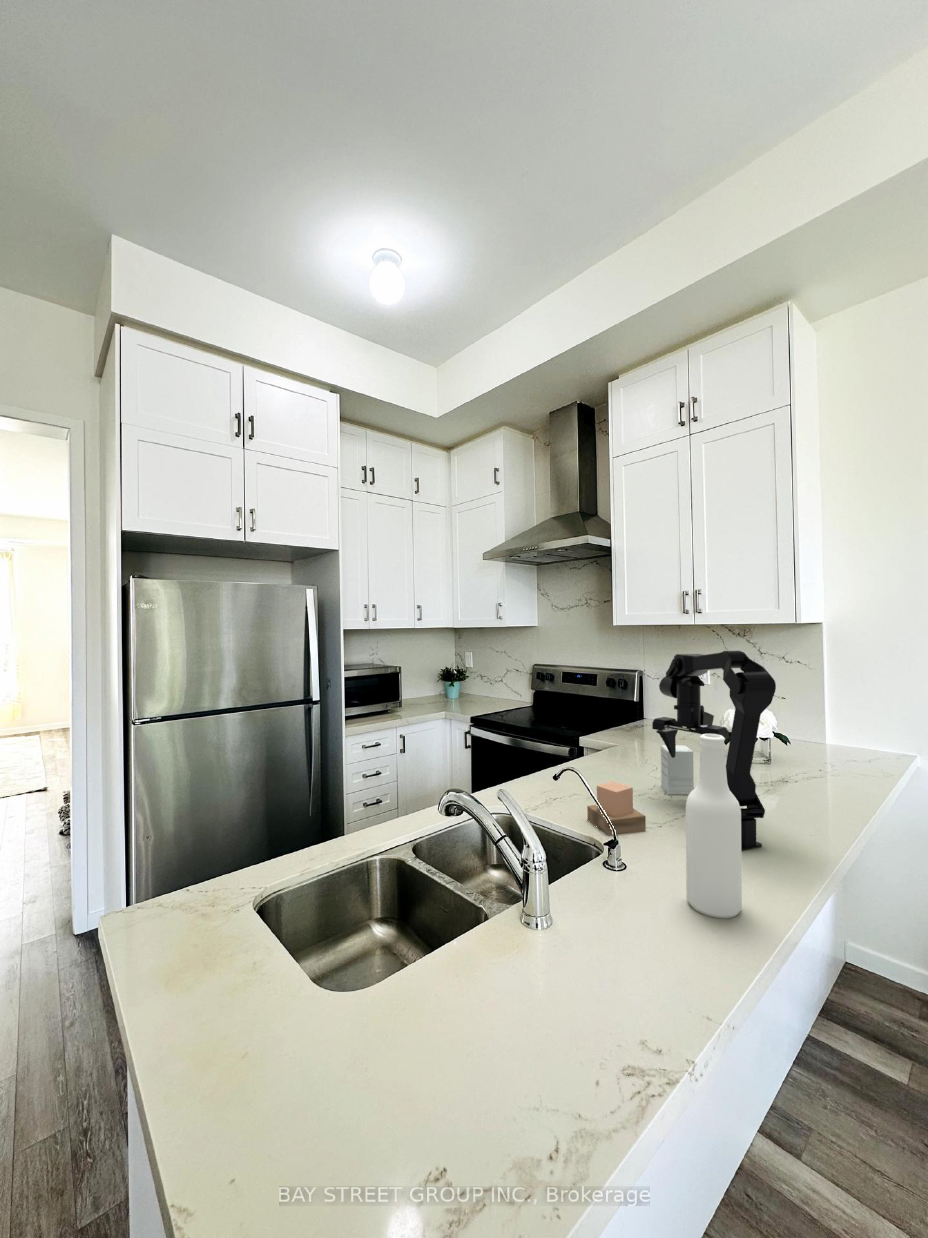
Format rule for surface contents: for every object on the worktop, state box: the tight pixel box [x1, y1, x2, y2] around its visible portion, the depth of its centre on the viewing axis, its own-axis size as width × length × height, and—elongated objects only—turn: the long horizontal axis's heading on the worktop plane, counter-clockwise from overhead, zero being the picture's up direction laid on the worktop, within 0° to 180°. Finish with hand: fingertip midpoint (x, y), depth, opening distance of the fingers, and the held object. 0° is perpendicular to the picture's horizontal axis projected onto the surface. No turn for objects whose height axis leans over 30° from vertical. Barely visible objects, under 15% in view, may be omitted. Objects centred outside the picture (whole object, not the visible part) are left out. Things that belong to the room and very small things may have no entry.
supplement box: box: [660, 744, 695, 796], centre depth 155 cm, size 7×7×13 cm
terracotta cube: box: [596, 780, 634, 817], centre depth 129 cm, size 6×6×6 cm
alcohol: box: [685, 734, 743, 919], centre depth 93 cm, size 9×9×30 cm
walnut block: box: [586, 804, 647, 837], centre depth 130 cm, size 10×10×4 cm
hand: (689, 761), depth 139 cm, fingers open, 9 cm apart
